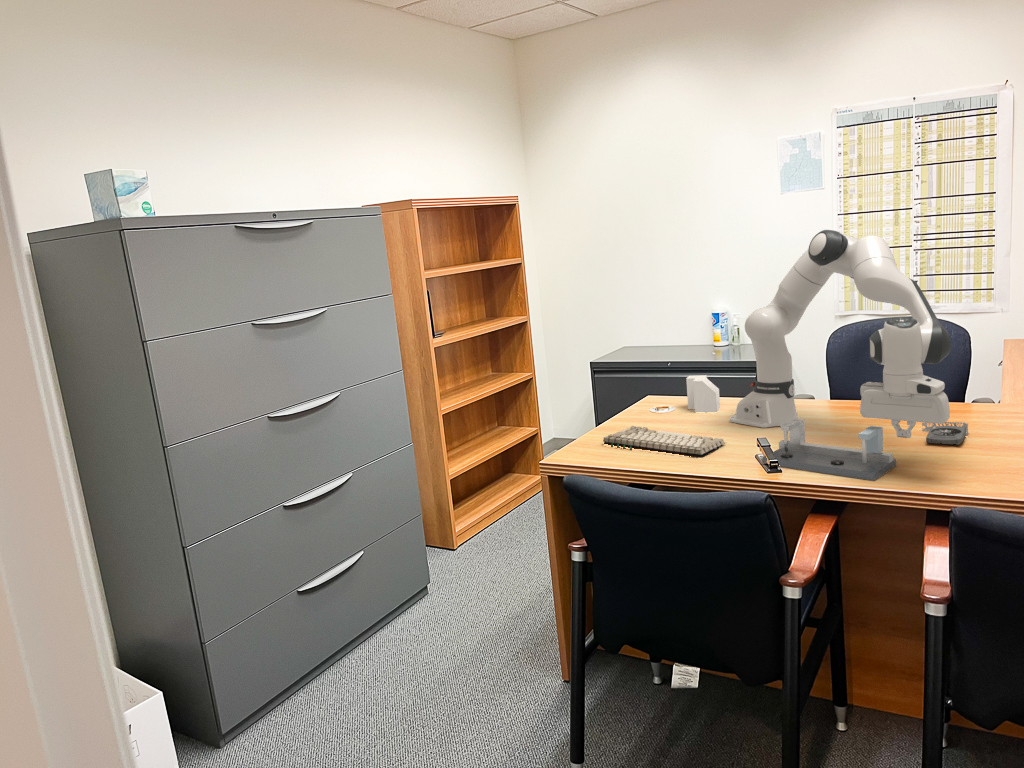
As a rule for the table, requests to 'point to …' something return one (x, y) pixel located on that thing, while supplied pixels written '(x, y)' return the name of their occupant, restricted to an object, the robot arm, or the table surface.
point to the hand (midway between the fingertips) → (903, 437)
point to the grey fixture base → (828, 456)
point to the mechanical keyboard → (664, 442)
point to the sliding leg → (871, 441)
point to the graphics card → (946, 433)
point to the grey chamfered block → (702, 394)
